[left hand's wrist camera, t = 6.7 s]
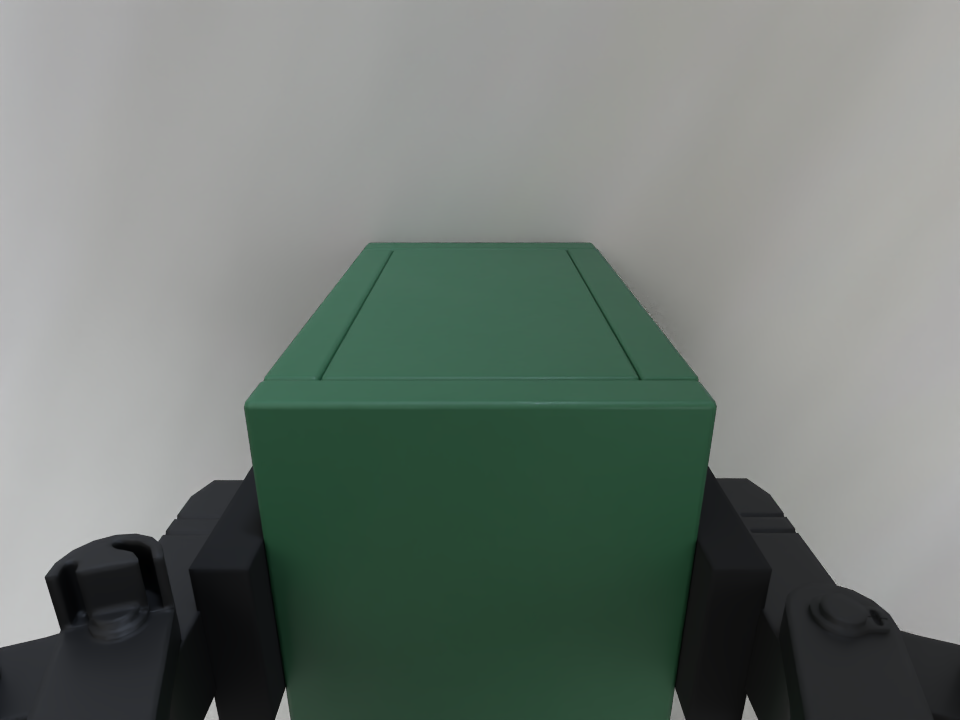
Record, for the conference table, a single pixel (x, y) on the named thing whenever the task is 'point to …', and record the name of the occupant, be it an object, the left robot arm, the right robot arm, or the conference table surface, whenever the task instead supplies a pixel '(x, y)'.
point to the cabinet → (480, 490)
